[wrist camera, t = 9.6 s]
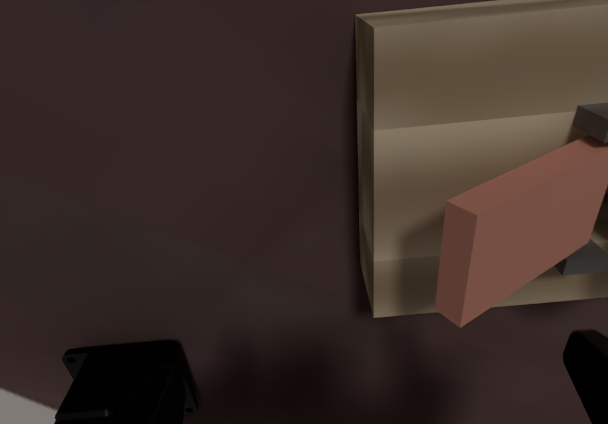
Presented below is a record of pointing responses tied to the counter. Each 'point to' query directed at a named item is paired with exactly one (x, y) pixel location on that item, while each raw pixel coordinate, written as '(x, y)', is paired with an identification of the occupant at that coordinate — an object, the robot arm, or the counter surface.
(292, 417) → the counter surface
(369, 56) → the block
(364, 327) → the counter surface
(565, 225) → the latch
